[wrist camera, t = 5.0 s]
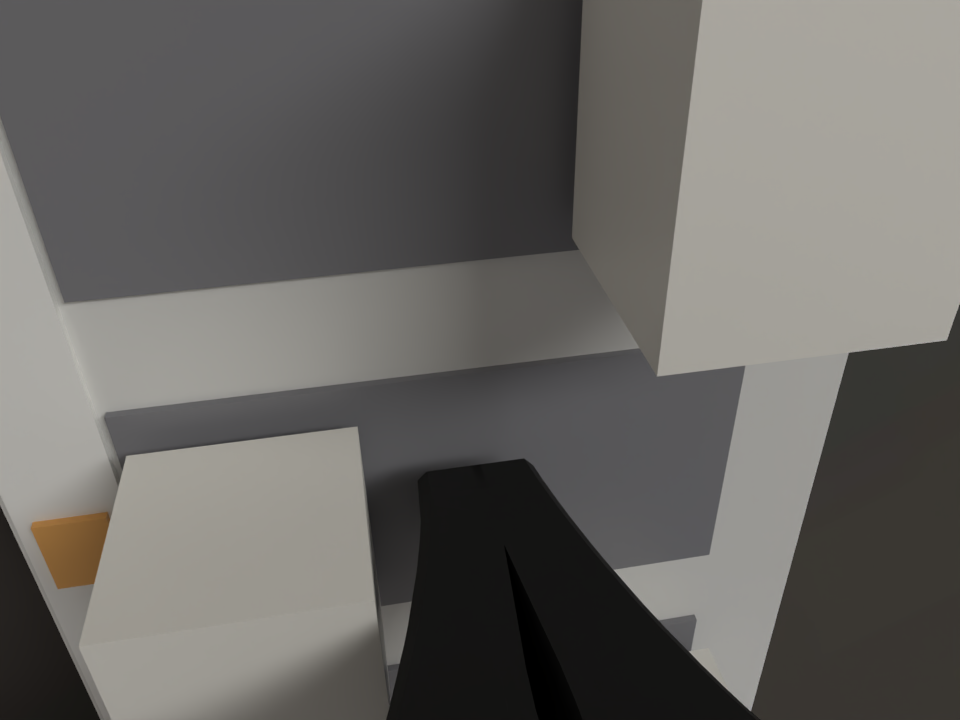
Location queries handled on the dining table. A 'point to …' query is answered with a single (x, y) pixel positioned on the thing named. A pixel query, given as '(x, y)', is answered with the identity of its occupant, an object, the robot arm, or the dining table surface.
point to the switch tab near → (770, 175)
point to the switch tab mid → (240, 586)
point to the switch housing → (358, 295)
